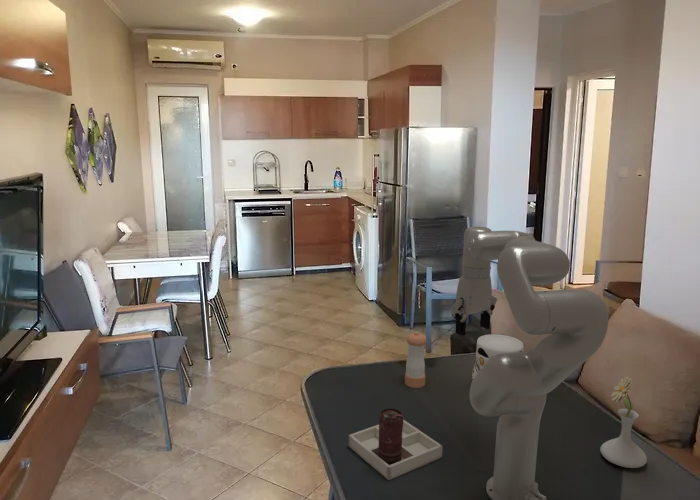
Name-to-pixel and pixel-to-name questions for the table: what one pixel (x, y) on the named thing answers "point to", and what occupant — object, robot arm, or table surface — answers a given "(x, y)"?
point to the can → (390, 435)
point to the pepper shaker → (415, 361)
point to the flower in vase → (624, 433)
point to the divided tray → (414, 450)
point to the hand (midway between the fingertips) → (472, 331)
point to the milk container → (494, 348)
